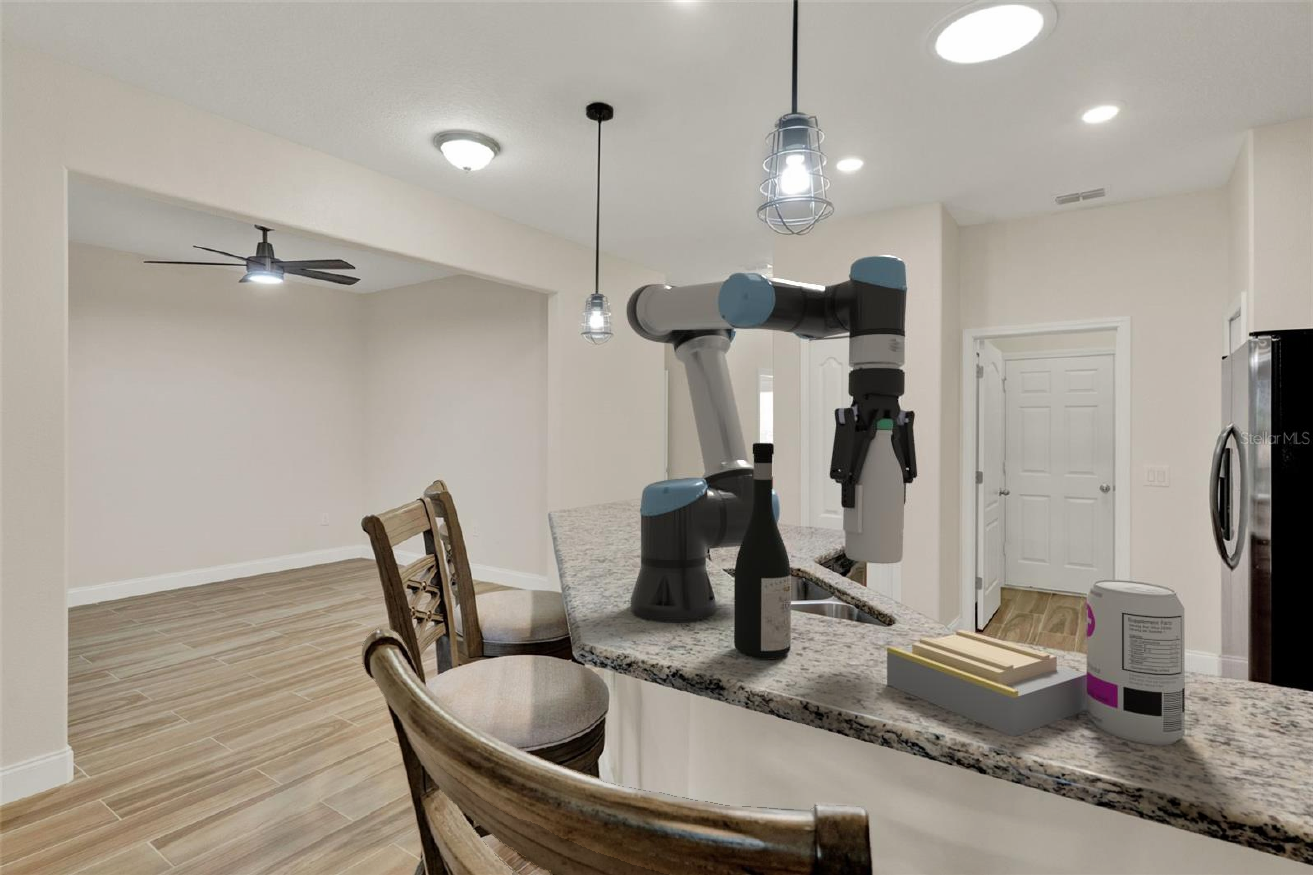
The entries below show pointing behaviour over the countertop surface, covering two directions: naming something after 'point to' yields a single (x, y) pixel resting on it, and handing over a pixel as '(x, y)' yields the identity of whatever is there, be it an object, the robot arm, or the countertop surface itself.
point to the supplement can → (1136, 661)
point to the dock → (988, 681)
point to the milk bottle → (879, 504)
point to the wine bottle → (762, 574)
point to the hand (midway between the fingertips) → (873, 529)
